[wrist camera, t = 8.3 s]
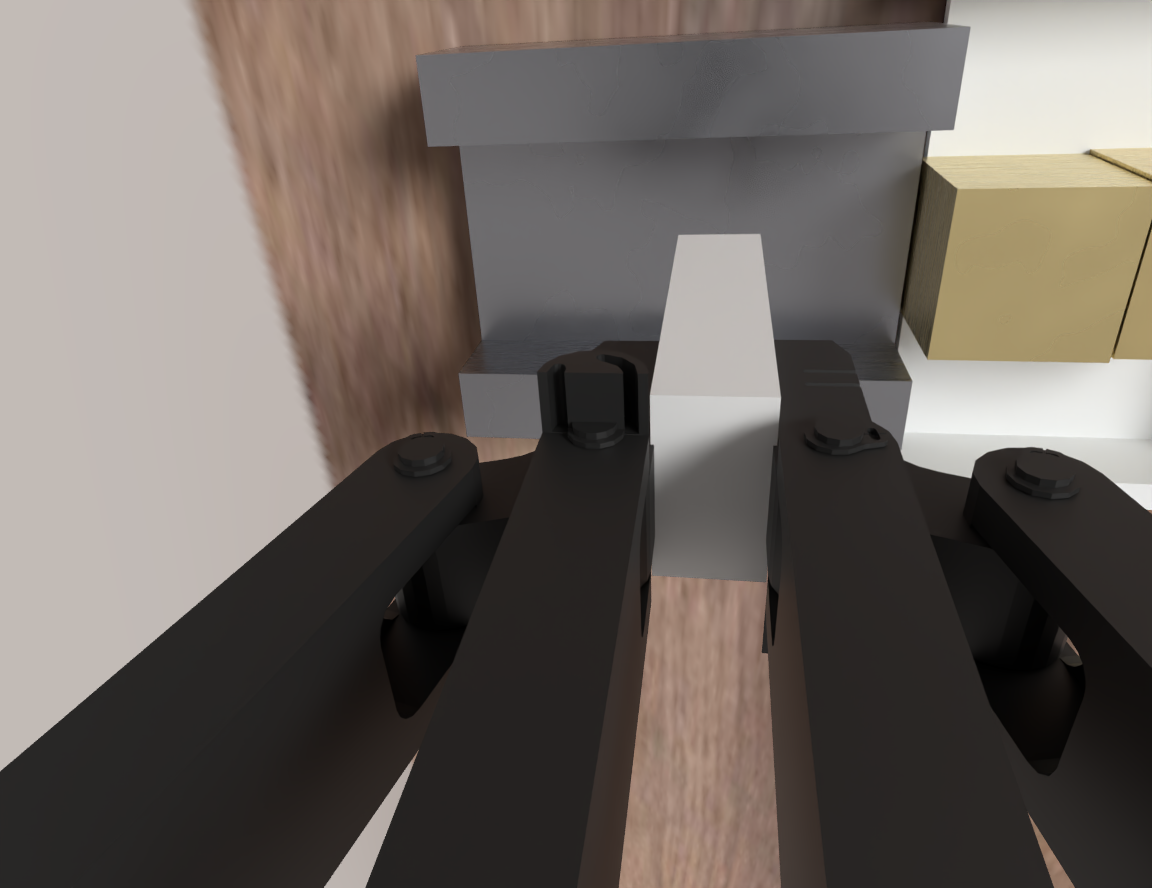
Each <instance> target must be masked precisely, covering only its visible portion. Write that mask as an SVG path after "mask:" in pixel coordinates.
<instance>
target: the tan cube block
mask: <svg viewBox="0 0 1152 888" xmlns="http://www.w3.org/2000/svg"><path fill="white" fill-rule="evenodd" d="M1151 220H1152V182H1151V181H1149V180H1147V179H1144V178H1142V177H1140V176H1138V175H1135V174H1133V173H1131V172H1128V171H1126V170H1124V169H1122V168H1119V167H1117V166H1115V165H1112V164H1110V163H1108V162H1105V161H1103V160H1101V159H1099V158H1096V157H1094V156H1092V155H1089V154H1087V153H1081V154H1033V155H986V156H938V157H922V164H921V170H920V177H919V184H918V191H917V197H916V204H915V211H914V217H913V224H912V231H911V238H910V244H909V251H908V258H907V265H906V271H905V278H904V285H903V291H902V298H901V305H900V311H901V313H902V315H903V317H904V319H905V320H906V322H907V324H908V326H909V328H910V329H911V331H912V333H913V335H914V337H915V338H916V340H917V342H918V344H919V346H920V348H921V349H922V351H923V353H924V355H925V357H926V358H927V360H967V361H1022V362H1076V363H1109V362H1110V358H1111V355H1112V351H1113V348H1114V345H1115V341H1116V338H1117V335H1118V331H1119V328H1120V325H1121V321H1122V318H1123V314H1124V311H1125V308H1126V304H1127V301H1128V298H1129V294H1130V291H1131V288H1132V284H1133V281H1134V277H1135V274H1136V271H1137V267H1138V264H1139V261H1140V257H1141V254H1142V250H1143V247H1144V244H1145V240H1146V237H1147V234H1148V230H1149V227H1150V224H1151Z"/></svg>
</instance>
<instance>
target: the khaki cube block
mask: <svg viewBox="0 0 1152 888" xmlns="http://www.w3.org/2000/svg"><path fill="white" fill-rule="evenodd" d="M1089 155H1092V156H1094V157H1096V158H1099V159H1101V160H1103V161H1105V162H1108V163H1110V164H1112V165H1115V166H1117V167H1119V168H1122V169H1124V170H1126V171H1128V172H1131V173H1133V174H1135V175H1138V176H1140V177H1142V178H1144V179H1147V180H1149V181H1151V182H1152V148H1116V149H1090V152H1089ZM1111 357H1112V358H1113V359H1135V360H1152V220H1151V224H1150V227H1149V230H1148V234H1147V237H1146V240H1145V244H1144V247H1143V250H1142V254H1141V257H1140V261H1139V264H1138V267H1137V271H1136V274H1135V277H1134V281H1133V284H1132V288H1131V291H1130V294H1129V298H1128V301H1127V304H1126V308H1125V311H1124V314H1123V318H1122V321H1121V325H1120V328H1119V331H1118V335H1117V338H1116V341H1115V345H1114V348H1113V351H1112V355H1111Z"/></svg>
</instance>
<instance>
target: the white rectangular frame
mask: <svg viewBox="0 0 1152 888" xmlns="http://www.w3.org/2000/svg"><path fill="white" fill-rule="evenodd" d="M944 23H945V24H953V25H961V26H969V27H971V29H970V35H969V41H968V47H967V53H966V59H965V65H964V71H963V77H962V83H961V90H960V96H959V102H958V108H957V114H956V120H955V126H954V130H942V131H927V138H926V144H925V151H924V157H938V156H986V155H1033V154H1081V153H1087V154H1089V152H1090V149H1116V148H1152V0H947V4H946V10H945V17H944ZM895 346H896V348H897V350H898V352H899V354H900V357H901V359H902V361H903V363H904V365H905V367H906V369H907V371H908V373H909V375H910V377H911V379H912V381H913V382H912V388H911V394H910V400H909V407H908V413H907V419H906V425H905V431H904V437H903V443H902V449H901V450H900V451H901V454H902V457H903V460H905V461H907V462H909V463H912V464H914V465H917V466H919V467H923V468H927V469H931V470H934V471H938V472H943V473H948V474H953V475H958V476H963V477H968V478H971V477H972V472H973V468H974V464H975V460H977V459H978V458H980V457H981V456H982V455H984V454H985V453H987V452H989V451H994V450H999V449H1003V448H1026V447H1036V448H1043V450H1046V449H1049V450H1054V451H1058V452H1061V453H1062V454H1064V455H1066V456H1069V457H1072V458H1075V459H1077V460H1080V461H1083V462H1085V463H1086V464H1088V465H1090V466H1091V467H1093V468H1094V469H1096V470H1098V471H1099V472H1101V473H1103V474H1104V475H1105V476H1106V477H1108V478H1109V479H1110V480H1111V481H1112V482H1114V483H1115V484H1116V485H1117V486H1118V487H1120V488H1121V489H1122V490H1123V491H1124V492H1126V493H1127V494H1128V495H1129V496H1130V497H1132V498H1133V499H1134V500H1135V501H1137V502H1138V503H1139V504H1140V505H1141V506H1143V507H1144V508H1145V509H1146V510H1152V360H1135V359H1113V358H1112V357H1111V358H1110V362H1109V363H1076V362H1022V361H967V360H927V358H926V357H925V355H924V353H923V351H922V349H921V348H920V346H919V344H918V342H917V340H916V338H915V337H914V335H913V333H912V331H911V329H910V328H909V326H908V324H907V322H906V320H905V319H904V317H903V315H902V313H901V312H900V319H899V325H898V332H897V339H896V345H895Z"/></svg>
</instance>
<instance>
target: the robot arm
mask: <svg viewBox="0 0 1152 888" xmlns="http://www.w3.org/2000/svg"><path fill="white" fill-rule="evenodd" d="M537 380H538V391H539V402H540V413H541V424H542V434H541V437H540V440H539V442H538V445H537V447H536V450H535V451H534V452H531V453H528V454H525V455H523V456H518V457H513V458H509V459H503V460H496V461H489V462H483V463H479V459H478V453H477V447H476V446H475V445H474V444H472V443H471V442H470V441H469V440H468V439H466V438H463V437H460V436H457V435H454V434H447V433H436V432H426V433H424V434H421V433H418V434H413V435H410V436H408V437H406V438H403V439H400V440H397V441H394V442H392V443H390V444H389V445H387V446H385V447H384V448H382V449H380V450H379V451H377V452H376V453H375V454H374V455H373V456H371V457H370V458H369V459H368V460H367V461H365V462H364V463H363V464H362V465H361V466H360V467H358V468H357V469H356V470H355V471H354V472H352V473H351V474H350V475H349V476H348V477H347V478H345V479H344V480H343V481H342V482H341V483H340V484H338V485H337V486H336V487H335V488H334V489H332V490H331V491H330V492H329V493H328V494H327V495H325V497H323V498H322V499H321V500H319V501H318V502H317V503H316V504H315V505H314V506H313V507H311V508H310V509H309V510H308V511H307V512H305V513H304V514H303V515H302V516H301V517H300V518H298V519H297V520H296V521H295V522H294V523H293V524H291V525H290V526H289V527H288V528H287V529H285V530H284V531H283V532H282V533H281V534H279V535H278V536H277V537H276V538H275V539H274V540H272V541H271V542H270V543H269V544H268V545H266V546H265V547H264V548H263V549H262V550H261V551H259V552H258V553H257V554H256V555H255V556H254V557H252V558H251V559H250V560H249V561H248V562H246V563H245V564H244V565H243V566H242V567H241V568H239V569H238V570H237V571H236V572H235V573H233V574H232V575H231V576H230V577H229V578H228V579H227V580H225V581H224V582H223V583H222V584H221V585H219V586H218V587H217V588H216V589H215V590H214V591H212V592H211V593H210V594H209V595H208V596H206V597H205V598H204V599H203V600H202V601H201V602H200V603H198V604H197V605H196V606H195V607H193V608H192V609H191V610H190V611H189V612H188V613H186V614H185V615H184V616H183V617H182V618H181V619H179V620H178V621H177V622H176V623H175V624H173V625H172V626H171V627H170V628H169V629H168V630H166V631H165V632H164V633H163V634H162V635H160V636H159V637H158V638H157V639H156V640H155V641H153V642H152V643H151V644H150V645H149V646H148V647H146V648H145V649H144V650H143V651H142V652H141V653H139V654H138V655H137V656H136V657H135V658H133V659H132V660H131V661H130V662H129V663H127V665H125V666H124V667H123V668H122V669H120V670H119V671H118V672H117V673H116V674H115V675H113V676H112V677H111V678H110V679H109V680H107V681H106V682H105V683H104V684H103V685H102V686H100V687H99V688H98V689H97V690H96V691H94V692H93V693H92V694H91V695H90V696H89V697H87V698H86V699H85V700H84V701H83V702H82V703H80V704H79V705H78V706H77V707H76V708H75V709H73V710H72V711H71V712H70V713H69V714H67V715H66V716H65V717H64V718H63V719H62V720H60V721H59V722H58V723H57V724H56V725H54V726H53V727H52V728H51V729H50V730H49V731H47V732H46V733H45V734H44V735H43V736H41V737H40V738H39V739H38V740H37V741H36V742H34V743H33V744H32V745H31V746H30V747H29V748H27V749H26V750H25V751H24V752H23V753H21V754H20V755H19V756H18V757H17V758H16V759H14V760H13V761H12V762H11V763H10V764H8V765H7V766H6V767H5V768H4V769H3V770H1V771H0V888H324V886H325V885H326V883H327V882H328V881H329V879H330V878H331V876H332V875H333V873H334V872H335V870H336V869H337V867H338V866H339V865H340V863H341V862H342V860H343V859H344V857H345V856H346V854H347V853H348V851H349V850H350V849H351V847H352V846H353V844H354V843H355V841H356V840H357V838H358V837H359V836H360V834H361V833H362V831H363V830H364V828H365V827H366V825H367V824H368V822H369V821H370V820H371V818H372V817H373V815H374V814H375V812H376V811H377V809H378V808H379V807H380V805H381V804H382V802H383V801H384V799H385V798H386V796H387V795H388V793H389V792H390V791H391V789H392V788H393V786H394V785H395V783H396V782H397V780H398V779H399V777H400V776H401V775H402V773H403V772H404V770H405V769H406V767H407V766H408V764H409V763H410V761H411V760H412V759H413V757H414V756H415V754H416V753H417V751H418V750H419V751H418V754H417V756H416V759H415V761H414V764H413V767H412V769H411V772H410V774H409V777H408V779H407V782H406V785H405V788H404V790H403V792H402V795H401V798H400V800H399V803H398V805H397V808H396V810H395V813H394V816H393V818H392V821H391V824H390V826H389V828H388V831H387V834H386V836H385V839H384V841H383V844H382V846H381V849H380V852H379V854H378V857H377V859H376V862H375V865H374V867H373V870H372V872H371V875H370V877H369V880H368V882H367V885H366V888H619V879H620V870H621V862H622V853H623V844H624V835H625V827H626V818H627V809H628V800H629V792H630V783H631V774H632V765H633V757H634V748H635V739H636V730H637V722H638V713H639V704H640V695H641V687H642V678H643V669H644V660H645V652H646V643H647V634H648V625H649V617H650V608H651V566H652V575H653V576H670V577H687V578H704V579H720V580H737V581H754V582H766V577H767V565H768V584H767V596H766V608H765V621H764V633H763V645H762V653H768V661H769V679H770V697H771V715H772V733H773V750H774V768H775V786H776V804H777V822H778V840H779V858H780V875H781V888H1054V886H1053V884H1052V881H1051V878H1050V875H1049V872H1048V869H1047V867H1046V864H1045V861H1044V858H1043V855H1042V852H1041V849H1040V847H1039V844H1038V841H1037V838H1036V835H1035V832H1034V830H1033V827H1032V824H1031V821H1030V818H1029V815H1030V816H1031V818H1032V820H1033V821H1034V823H1035V824H1036V826H1037V827H1038V829H1039V831H1040V832H1041V834H1042V835H1043V837H1044V839H1045V840H1046V842H1047V843H1048V845H1049V847H1050V848H1051V850H1052V851H1053V853H1054V855H1055V856H1056V858H1057V859H1058V861H1059V863H1060V864H1061V866H1062V867H1063V869H1064V871H1065V872H1066V874H1067V875H1068V877H1069V878H1070V880H1071V882H1072V883H1073V885H1074V886H1075V888H1152V514H1151V513H1150V512H1149V511H1147V510H1146V509H1145V508H1144V507H1143V506H1141V505H1140V504H1139V503H1138V502H1137V501H1135V500H1134V499H1133V498H1132V497H1130V496H1129V495H1128V494H1127V493H1126V492H1124V491H1123V490H1122V489H1121V488H1120V487H1118V486H1117V485H1116V484H1115V483H1114V482H1112V481H1111V480H1110V479H1109V478H1108V477H1106V476H1105V475H1104V474H1103V473H1101V472H1099V471H1098V470H1096V469H1094V468H1093V467H1091V466H1090V465H1088V464H1086V463H1085V462H1083V461H1080V460H1077V459H1075V458H1072V457H1069V456H1066V455H1064V454H1062V453H1061V452H1058V451H1054V450H1049V449H1046V450H1043V448H1036V447H1026V448H1003V449H999V450H994V451H989V452H987V453H985V454H984V455H982V456H981V457H980V458H978V459H977V460H975V464H974V468H973V472H972V477H971V478H968V477H963V476H958V475H953V474H948V473H943V472H938V471H934V470H931V469H927V468H923V467H919V466H917V465H914V464H912V463H909V462H907V461H905V460H903V457H902V454H901V451H900V448H899V445H898V442H897V441H896V440H895V438H894V437H893V436H892V434H891V433H890V432H889V431H888V430H886V429H884V428H883V427H881V426H879V425H878V424H876V423H874V422H872V420H871V417H870V414H869V411H868V408H867V404H866V401H865V398H864V395H863V392H862V389H861V387H860V382H859V379H858V376H857V374H856V370H855V367H854V363H853V360H852V357H851V354H849V353H848V352H847V351H846V350H844V349H843V348H842V347H840V346H839V345H838V344H836V343H835V342H834V341H832V340H774V338H773V330H772V322H771V314H770V306H769V298H768V290H767V282H766V274H765V266H764V258H763V250H762V242H761V234H710V235H678V240H677V246H676V252H675V257H674V263H673V268H672V274H671V280H670V285H669V291H668V296H667V302H666V308H665V313H664V319H663V324H662V330H661V336H660V341H611V340H605V341H604V342H602V343H601V344H600V345H598V346H597V347H596V348H594V349H593V350H591V351H578V352H574V353H570V354H565V355H561V356H558V357H556V358H554V359H552V360H550V361H548V362H546V363H545V364H544V365H543V366H542V367H541V368H540V369H539V370H538V371H537ZM394 597H395V598H396V599H395V600H394V601H393V602H392V600H393V598H394ZM391 602H392V604H391V605H390V603H391ZM389 605H390V606H389ZM388 606H389V607H388ZM1067 637H1068V638H1069V639H1070V640H1071V642H1072V643H1073V645H1074V646H1075V648H1076V650H1077V651H1078V653H1079V656H1080V657H1079V656H1078V655H1077V654H1076V653H1075V651H1074V650H1073V649H1072V648H1071V647H1070V646H1069V644H1068V643H1067V642H1066V640H1067ZM419 748H420V749H419ZM1028 813H1029V815H1028Z"/></svg>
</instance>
